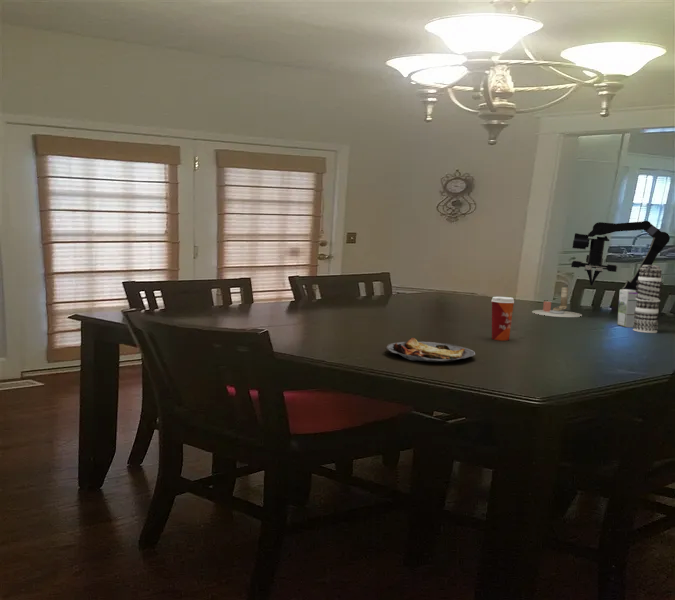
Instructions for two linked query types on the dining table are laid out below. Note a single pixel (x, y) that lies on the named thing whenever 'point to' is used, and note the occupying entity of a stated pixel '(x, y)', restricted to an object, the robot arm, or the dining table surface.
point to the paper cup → (501, 317)
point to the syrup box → (627, 307)
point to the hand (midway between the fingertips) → (591, 285)
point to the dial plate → (557, 313)
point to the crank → (563, 299)
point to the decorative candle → (647, 299)
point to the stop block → (547, 306)
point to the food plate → (429, 351)
